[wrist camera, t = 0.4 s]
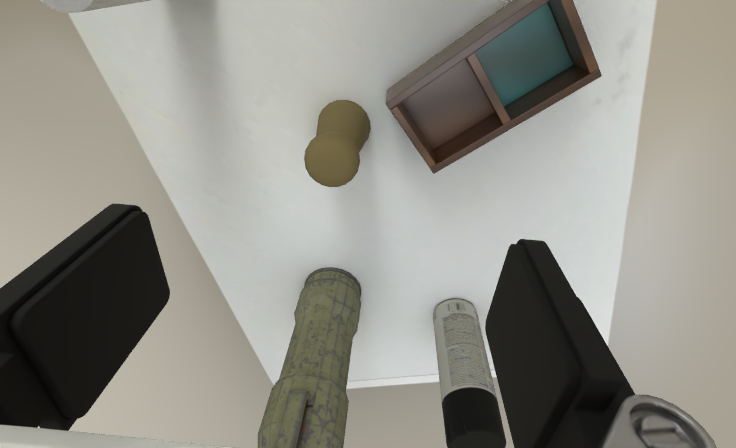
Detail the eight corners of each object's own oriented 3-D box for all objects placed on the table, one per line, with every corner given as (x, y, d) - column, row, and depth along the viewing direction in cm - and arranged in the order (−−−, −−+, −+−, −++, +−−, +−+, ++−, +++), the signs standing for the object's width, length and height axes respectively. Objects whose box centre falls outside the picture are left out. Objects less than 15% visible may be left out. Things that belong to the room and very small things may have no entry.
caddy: (386, 90, 41) (385, 103, 37) (544, -23, 35) (564, -22, 31) (430, 155, 45) (433, 174, 41) (580, 64, 38) (602, 75, 34)
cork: (352, 89, 41) (338, 123, 32) (380, 136, 44) (374, 179, 35) (307, 116, 43) (282, 156, 34) (336, 159, 46) (321, 206, 37)
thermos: (355, 256, 54) (302, 588, 25) (367, 314, 60) (336, 634, 31) (295, 260, 55) (178, 582, 26) (313, 317, 62) (235, 627, 33)
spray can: (423, 314, 60) (433, 448, 43) (453, 289, 56) (475, 423, 40) (455, 333, 61) (476, 467, 45) (486, 310, 58) (521, 446, 42)
